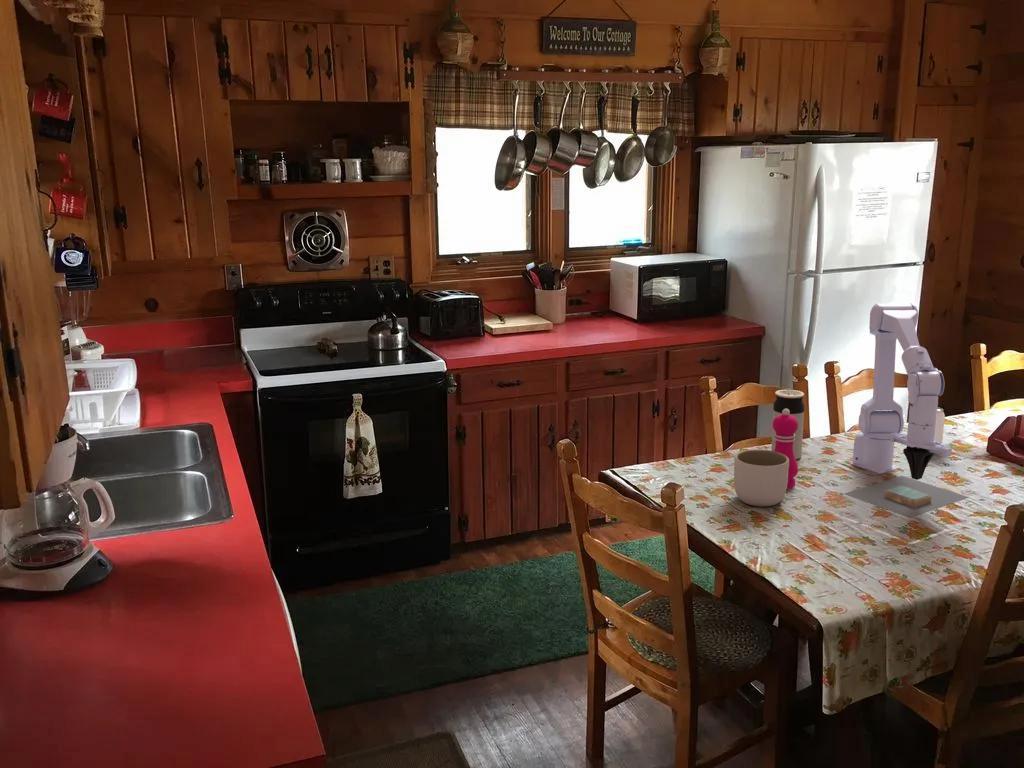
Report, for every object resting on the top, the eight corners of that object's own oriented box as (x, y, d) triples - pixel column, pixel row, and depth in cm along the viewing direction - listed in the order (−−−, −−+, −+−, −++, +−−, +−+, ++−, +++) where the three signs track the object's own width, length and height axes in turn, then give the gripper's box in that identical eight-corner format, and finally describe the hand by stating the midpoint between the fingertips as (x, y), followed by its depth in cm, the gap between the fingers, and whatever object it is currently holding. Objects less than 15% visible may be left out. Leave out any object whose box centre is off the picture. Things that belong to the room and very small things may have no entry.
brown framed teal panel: (885, 490, 211) (915, 500, 204) (901, 485, 214) (931, 495, 207) (884, 497, 211) (914, 507, 204) (900, 491, 214) (930, 502, 207)
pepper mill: (781, 492, 217) (785, 414, 212) (760, 483, 223) (764, 407, 218) (803, 487, 220) (808, 410, 215) (782, 478, 226) (786, 403, 221)
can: (945, 454, 241) (949, 412, 238) (921, 454, 241) (925, 412, 238) (934, 447, 247) (938, 405, 244) (911, 447, 247) (915, 406, 244)
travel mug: (776, 449, 248) (780, 387, 244) (805, 454, 244) (809, 391, 239) (766, 457, 242) (769, 394, 237) (795, 462, 237) (799, 398, 233)
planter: (771, 515, 203) (773, 470, 201) (723, 502, 212) (724, 458, 209) (795, 499, 212) (798, 456, 210) (748, 487, 220) (750, 446, 218)
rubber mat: (843, 495, 214) (843, 493, 214) (901, 477, 225) (901, 475, 225) (910, 519, 199) (910, 517, 199) (968, 499, 210) (968, 497, 210)
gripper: (883, 417, 207) (878, 472, 210) (940, 433, 195) (934, 491, 198) (902, 413, 210) (897, 467, 214) (959, 427, 198) (953, 484, 202)
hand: (916, 478), depth 206 cm, fingers closed
